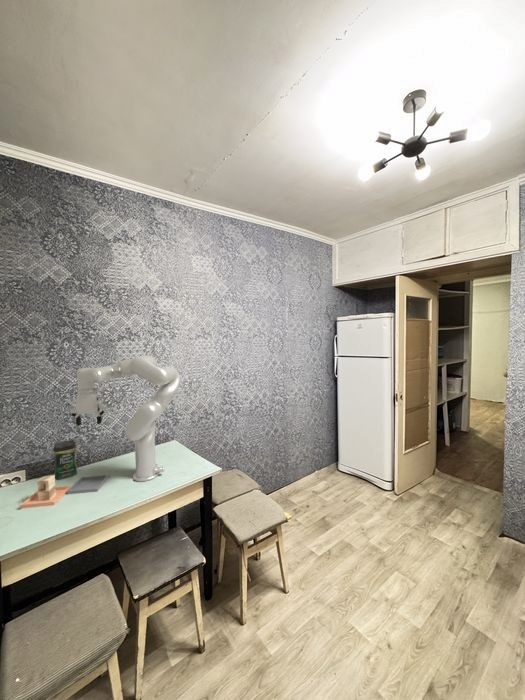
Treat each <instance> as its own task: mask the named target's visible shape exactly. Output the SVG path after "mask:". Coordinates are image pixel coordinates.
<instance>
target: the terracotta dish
mask: <svg viewBox="0 0 525 700" xmlns="http://www.w3.org/2000/svg"><path fill="white" fill-rule="evenodd" d="M71 487H72V485H64V486H63V485H61V486H55V488H56V495H55V496H54V497H52V498H51V499H50V500H45V501H39V500H38V490H37V491H35V492H34V493H33V494H31V495H30V496H29V497H28V498H27V499H26V500H24V501H23V502H22V503H21V504H20V505H19V509H20V510H22V509H28V508H38V507H48V506H55V505H56V504H57V503H58V502H59V501H60V500H61V499H62V498H63V497H64V496H66V495H67V490H68V489H70V488H71Z"/></svg>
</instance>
